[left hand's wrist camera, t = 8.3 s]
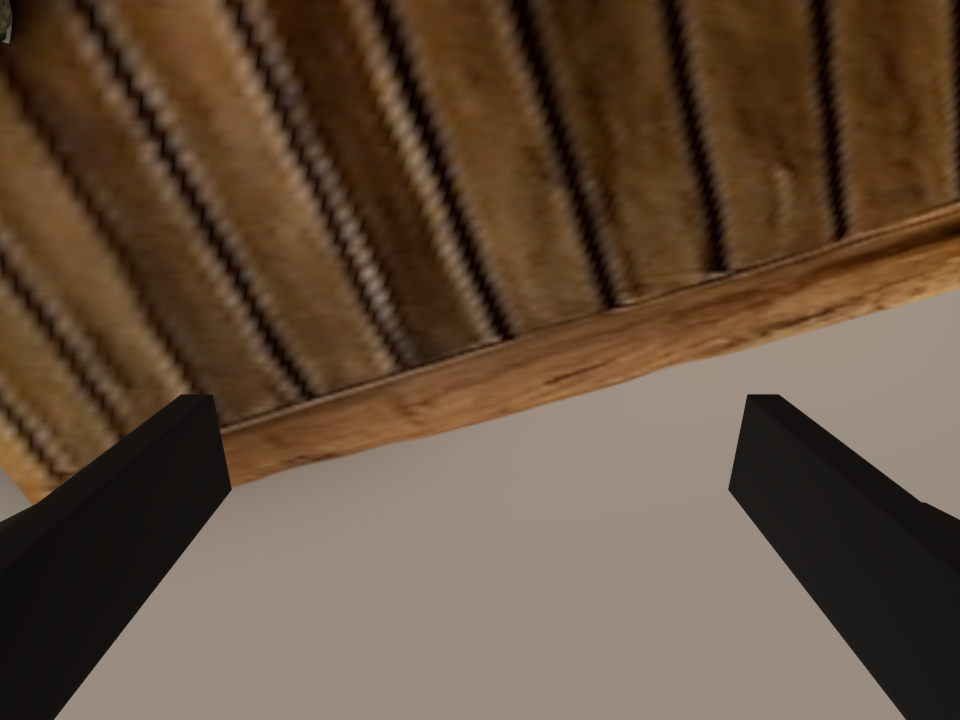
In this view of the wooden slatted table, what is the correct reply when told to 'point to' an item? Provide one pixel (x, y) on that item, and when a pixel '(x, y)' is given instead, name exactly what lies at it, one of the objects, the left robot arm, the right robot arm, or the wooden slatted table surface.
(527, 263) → the wooden slatted table surface
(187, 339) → the wooden slatted table surface
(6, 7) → the fossil
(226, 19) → the wooden slatted table surface
